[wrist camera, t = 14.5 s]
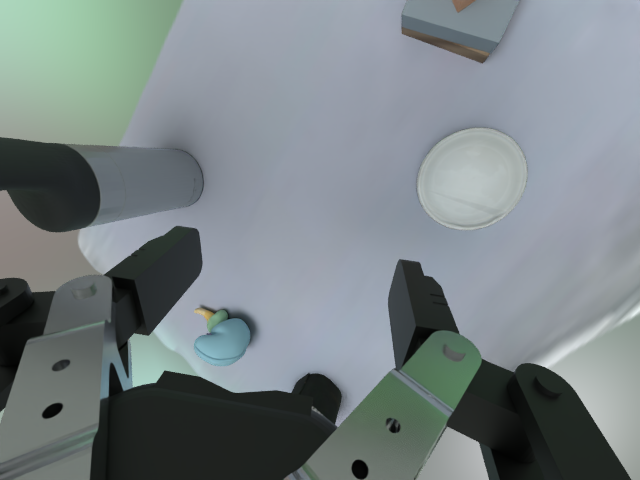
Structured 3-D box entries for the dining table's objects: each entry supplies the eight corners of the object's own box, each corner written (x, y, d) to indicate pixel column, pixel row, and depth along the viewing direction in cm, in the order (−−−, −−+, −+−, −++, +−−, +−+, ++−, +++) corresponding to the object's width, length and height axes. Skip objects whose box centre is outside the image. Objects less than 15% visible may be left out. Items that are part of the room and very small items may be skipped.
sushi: (287, 389, 53) (268, 426, 46) (316, 365, 50) (301, 401, 43) (319, 420, 53) (305, 462, 46) (350, 398, 50) (341, 439, 43)
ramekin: (424, 230, 40) (427, 239, 35) (406, 148, 38) (407, 146, 33) (518, 210, 37) (536, 218, 32) (503, 119, 35) (519, 112, 30)
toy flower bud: (169, 310, 45) (232, 352, 43) (208, 289, 53) (263, 323, 51) (160, 345, 48) (219, 386, 45) (199, 319, 56) (251, 353, 53)
